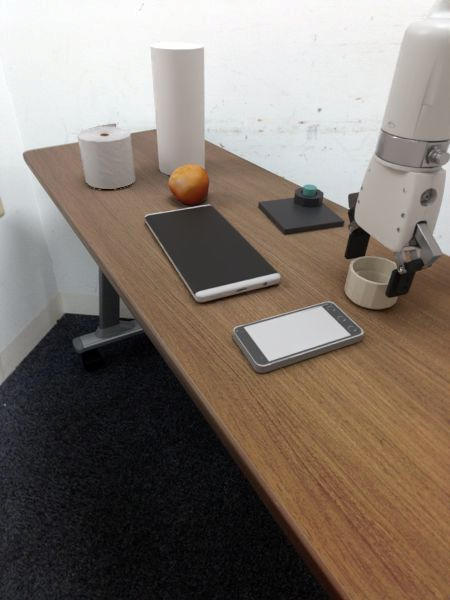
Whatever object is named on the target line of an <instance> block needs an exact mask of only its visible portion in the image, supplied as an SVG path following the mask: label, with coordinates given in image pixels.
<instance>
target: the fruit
mask: <svg viewBox="0 0 450 600" xmlns="http://www.w3.org/2000/svg"><path fill="white" fill-rule="evenodd" d="M169 176H170V177H169V179H168V189H169V191H170V192H171V194H172V196H173V197H174V198H175V199H176V200H178V201H179V202H181V203H184V204H186V205H189V206H196V205H199V204H201V203H203V202H204V201H205V200H208V195H209V188H210V180H209V174H208V172H207V170H206V168H205V169H203V168H202V167H201V166H199V165H195V164H187V165H185V166H181V167H179V168H177V169H176V170H175V171H174V172H173V173H172V174H171V175H169Z"/></svg>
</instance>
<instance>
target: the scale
mask: <svg viewBox="0 0 450 600" xmlns="http://www.w3.org/2000/svg"><path fill="white" fill-rule="evenodd" d="M302 192H303V187H298V188H296V189H295V190H294V196H293V197H287V198H280V199H279V198H278V199H271V200H264V201H263V200H261V201H258V205H257V206H258V207H257V208H258V209H259V210H260V211H261V212H262V213H263V214H264V215H265V217H267V218H268V220H270V222H271V223H272V224H273V225H274V226H275V227H276V228H277V229H278V230H279V231H280V233H282V234H283V235H284V236H287V235H289V236H290V235H295V234H303V233H310V232H315V231H321V230H326V229H327V230H328V229H334V228H341V227H342V228H343V227H344V225H345V219H343V218H342V217H340V216H339V214H337V213H336V212H335V211H334V210H332V209H331V208H330V207H328V206H327V205H326V204H325V203H323V201H324V197H325V196H324V194H325V193H324V192H323V191H322V189H321V190H320V189H318V188H317V191H316V196H306V195H303V194H302Z"/></svg>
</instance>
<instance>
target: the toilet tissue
mask: <svg viewBox="0 0 450 600" xmlns="http://www.w3.org/2000/svg"><path fill="white" fill-rule="evenodd" d="M76 137H77V143H78V148H79V153H80V157H81V158H80V159H81V164H82V171H83V175H84V181H85V184H86V183H88V184H89V185H91V186H94V187H99V188H119V187H124V186H127V185H130V184H132V183H133V182H134V181H135V182H136V180H135V179H137V177H136V170H135V161H134V160H135V159H134V152H133V151H134V150H133V142H132V139H133V138H132V133H131V131H130V130H129V129H126V128H123V127H117V123H116V122H115V123H109V124H102V125H98V126H97V125H96V126H93V127H90V128H86V129H83V130H81V131H79V132H77V136H76ZM135 182H134V183H135ZM134 183H133V184H134ZM133 184H132V185H133ZM130 186H131V185H130ZM127 187H128V186H127ZM124 188H125V187H124Z"/></svg>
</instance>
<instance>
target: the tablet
mask: <svg viewBox="0 0 450 600" xmlns="http://www.w3.org/2000/svg"><path fill="white" fill-rule="evenodd" d="M144 222H145V223H146V226H147V227H148V228H149V230H150V232H151V234H153V236H154V238H155V239H156V241H157V242H158V244H159V246H160V247H161V248H162V250H163V252H164V253H165V255H166V257H167V259H169V261H170V262H171V264H172V266H173V267H174V269H175V270H176V272H177V274H178V275H179V277H180V279H181V280H182V281H183V283H184V285H185V286H186V288H187V289H188V291H189V293H190V294H191V296H192V297H193V298H194V300H195V301H196V302H198V303H206V302H210V301H213V300H217V299H218V300H219V299H221V298H226V297H229V296H234V295H239V294H241V293H246V292H250V291H254V290H258V289H262V288H266V287H271V286H275V285H278V284H279V283H280V282H281V278H282V277H281V274H280V273H279V271H277V270H276V269H275V268H274V267H273V266H272V265H271V263H269V262H268V260H266V259H265V258H264V257H263V256H262V255H261V253H260V252H258V251H257V249H255V248H254V246H253V245H251V243H250V242H249V240H247V239H246V238H245V237H244V236H243V235H242V234H241V233H240V232H239V231H238V230H237V229H236V228H235V227H234V226H233V225H232V223H231V222H229V221H228V219H226V218H225V216H223V214H222V213H221V212H220V211H219V210H217V208H215V207H214V206H213V205H212V204H204V205H203V204H202V205H195V206H191V207H184V208H179V209H171V210H166V211H159V212H154V213H148V214H146V215H145V216H144Z"/></svg>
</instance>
